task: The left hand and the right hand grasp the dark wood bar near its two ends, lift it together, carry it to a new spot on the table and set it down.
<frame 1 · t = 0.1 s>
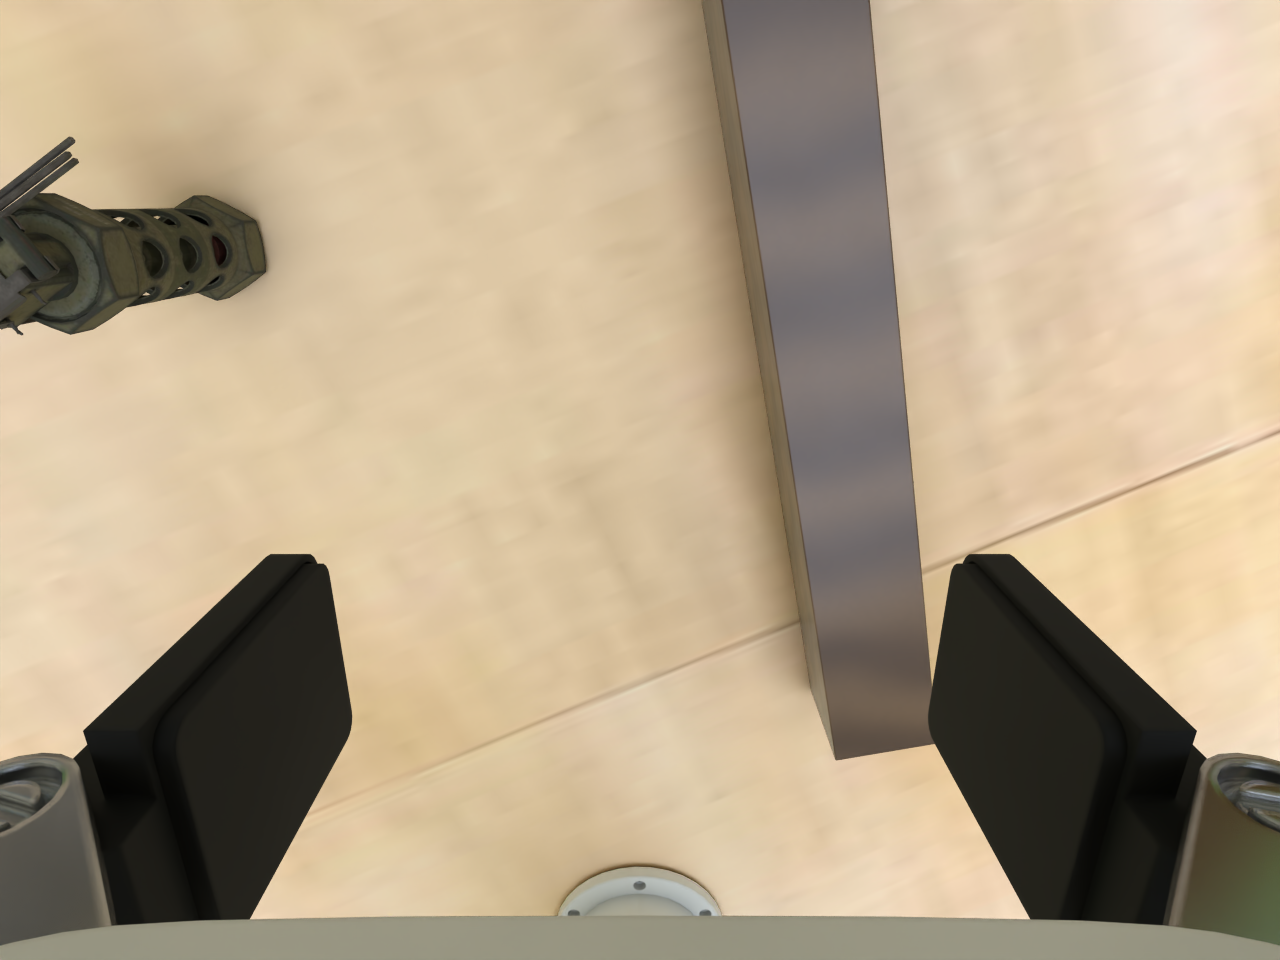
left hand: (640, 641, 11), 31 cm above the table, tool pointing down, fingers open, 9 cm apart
bar: (802, 286, 40), on the table
grenade: (199, 245, 39), on the table
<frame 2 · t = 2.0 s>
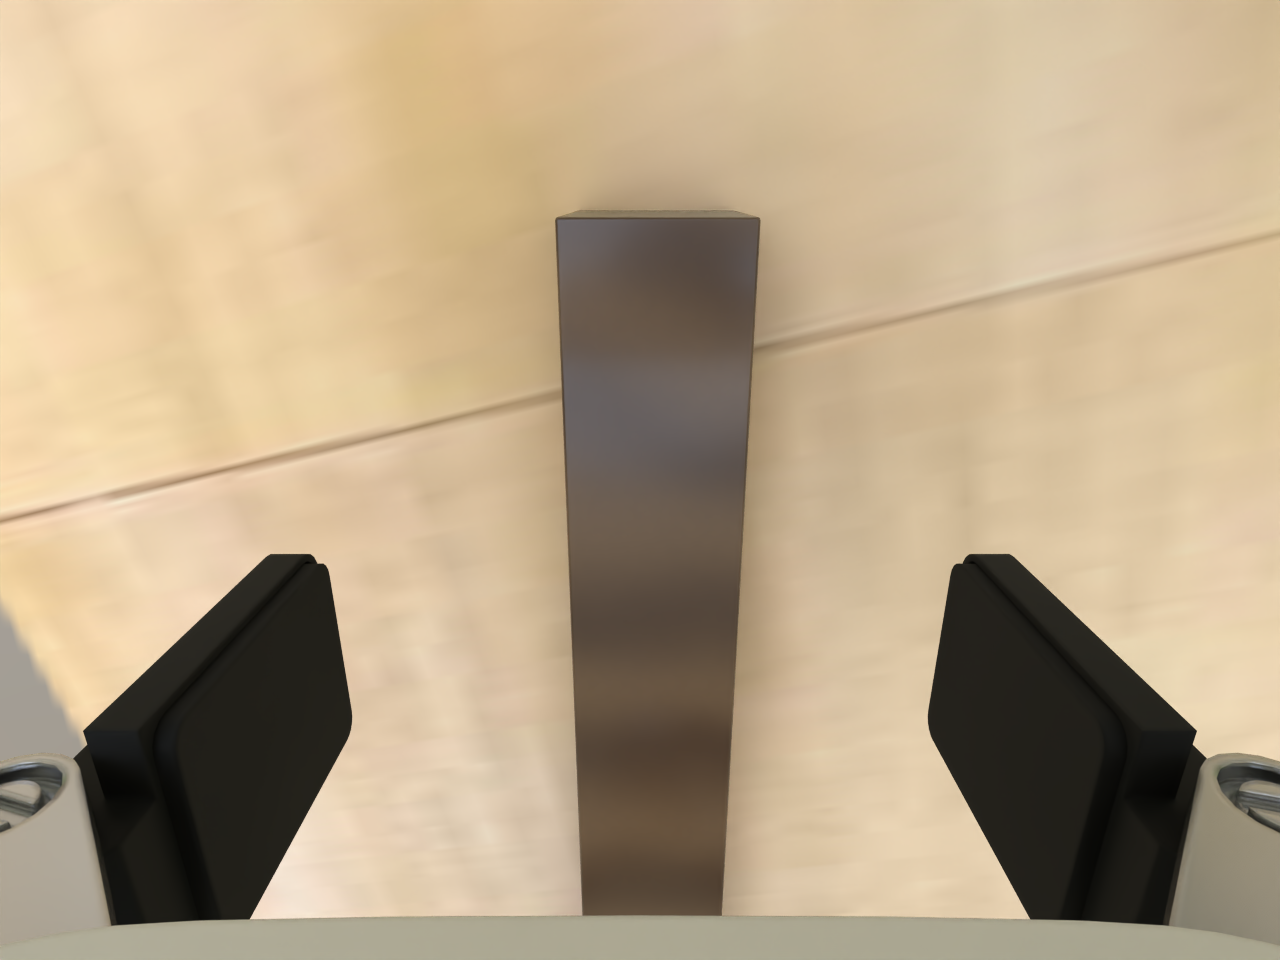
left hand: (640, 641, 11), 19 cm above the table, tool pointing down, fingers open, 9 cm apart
bar: (651, 769, 36), on the table
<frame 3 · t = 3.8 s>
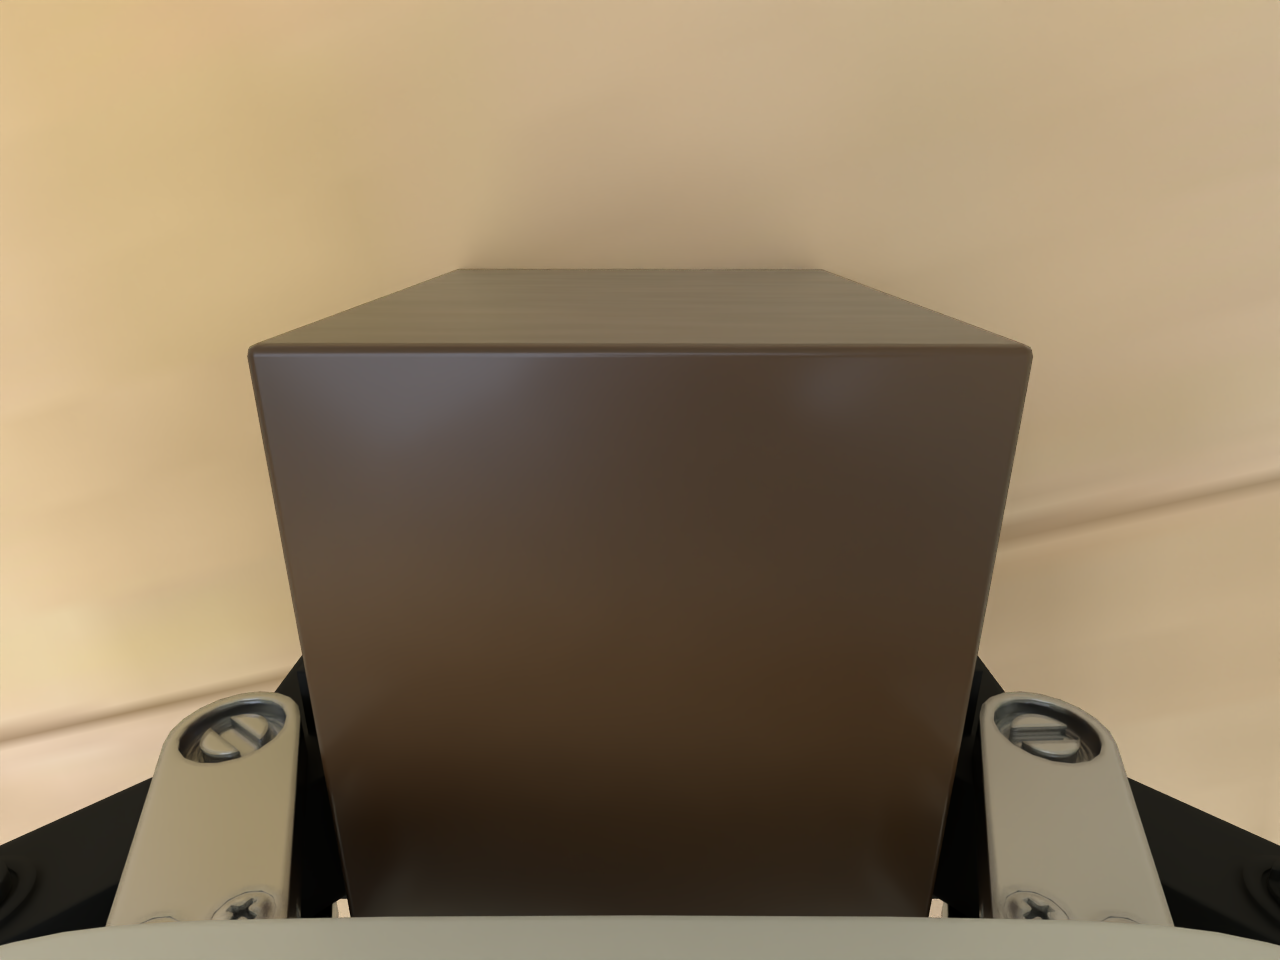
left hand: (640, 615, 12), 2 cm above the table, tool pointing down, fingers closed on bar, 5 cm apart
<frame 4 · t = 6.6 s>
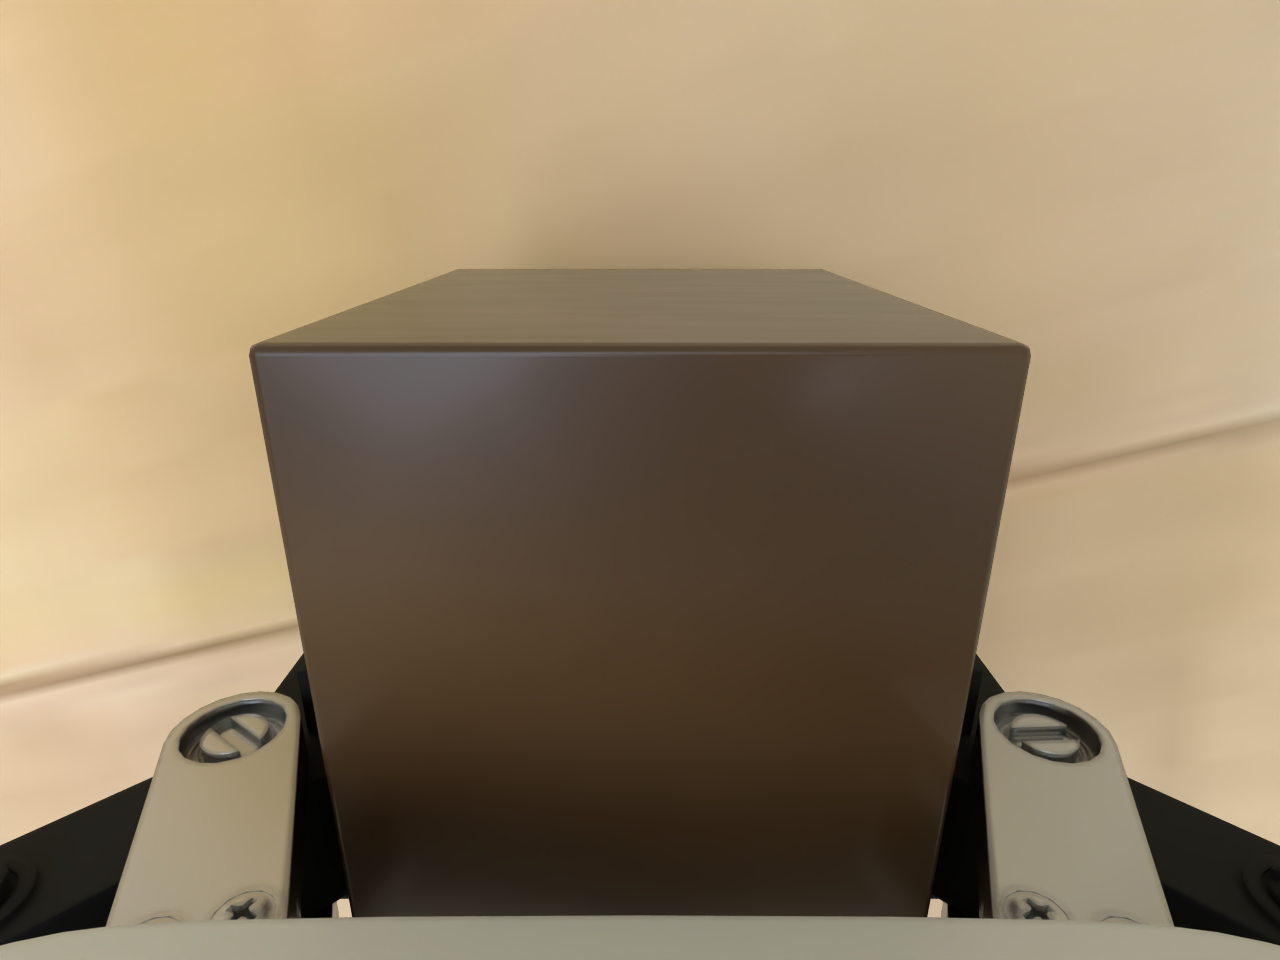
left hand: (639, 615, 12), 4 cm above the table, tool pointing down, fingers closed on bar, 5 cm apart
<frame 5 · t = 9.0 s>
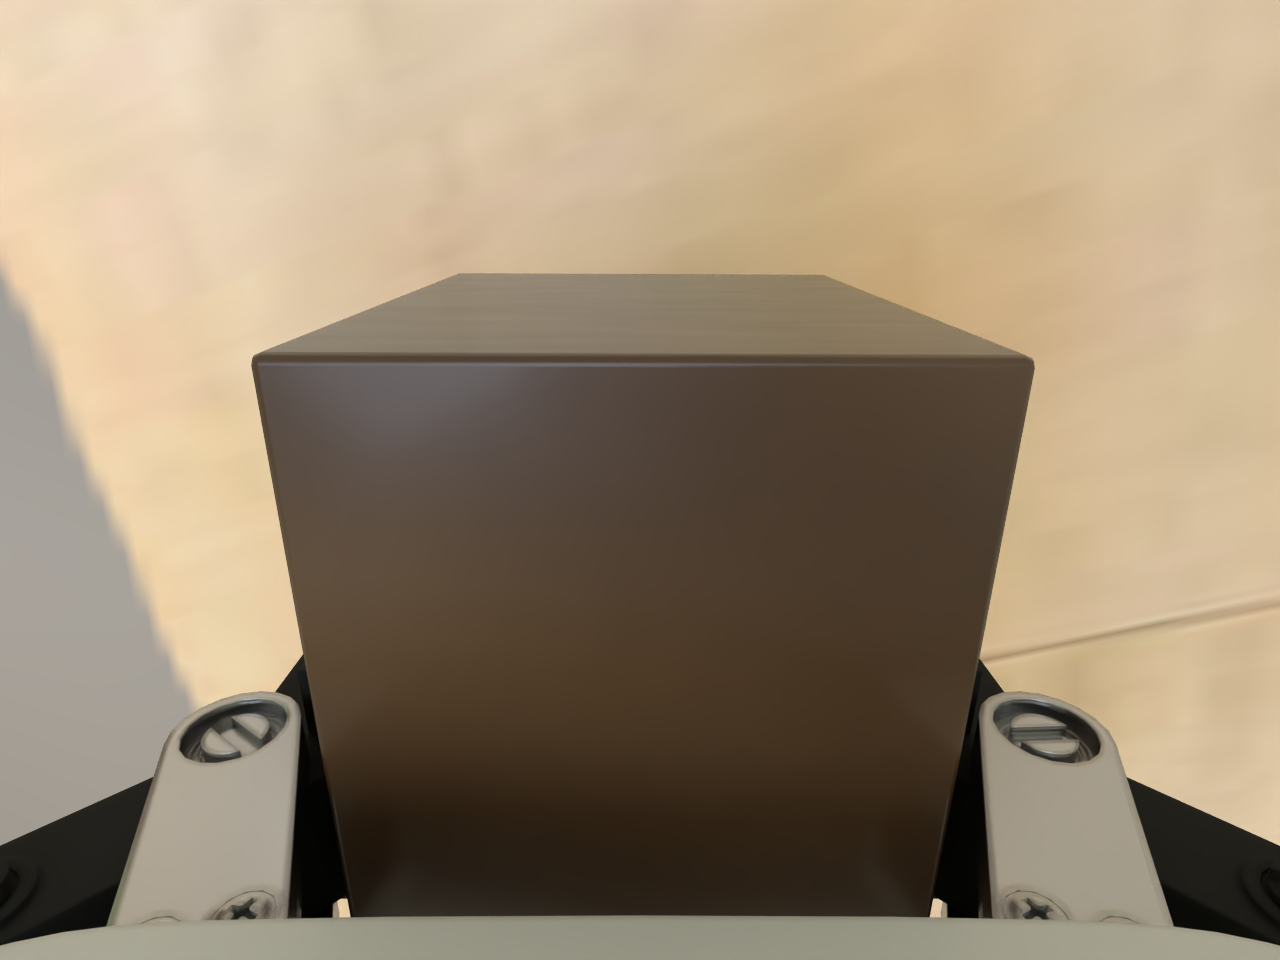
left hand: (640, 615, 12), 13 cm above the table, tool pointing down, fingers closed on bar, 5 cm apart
when the right hand's fingers open (2 cm above the table, at t = 11.3 s): bar drops 2 cm, on the table.
when the left hand's fingers open (3 cm above the table, at t = 11.4 s): bar stays where it is, on the table.
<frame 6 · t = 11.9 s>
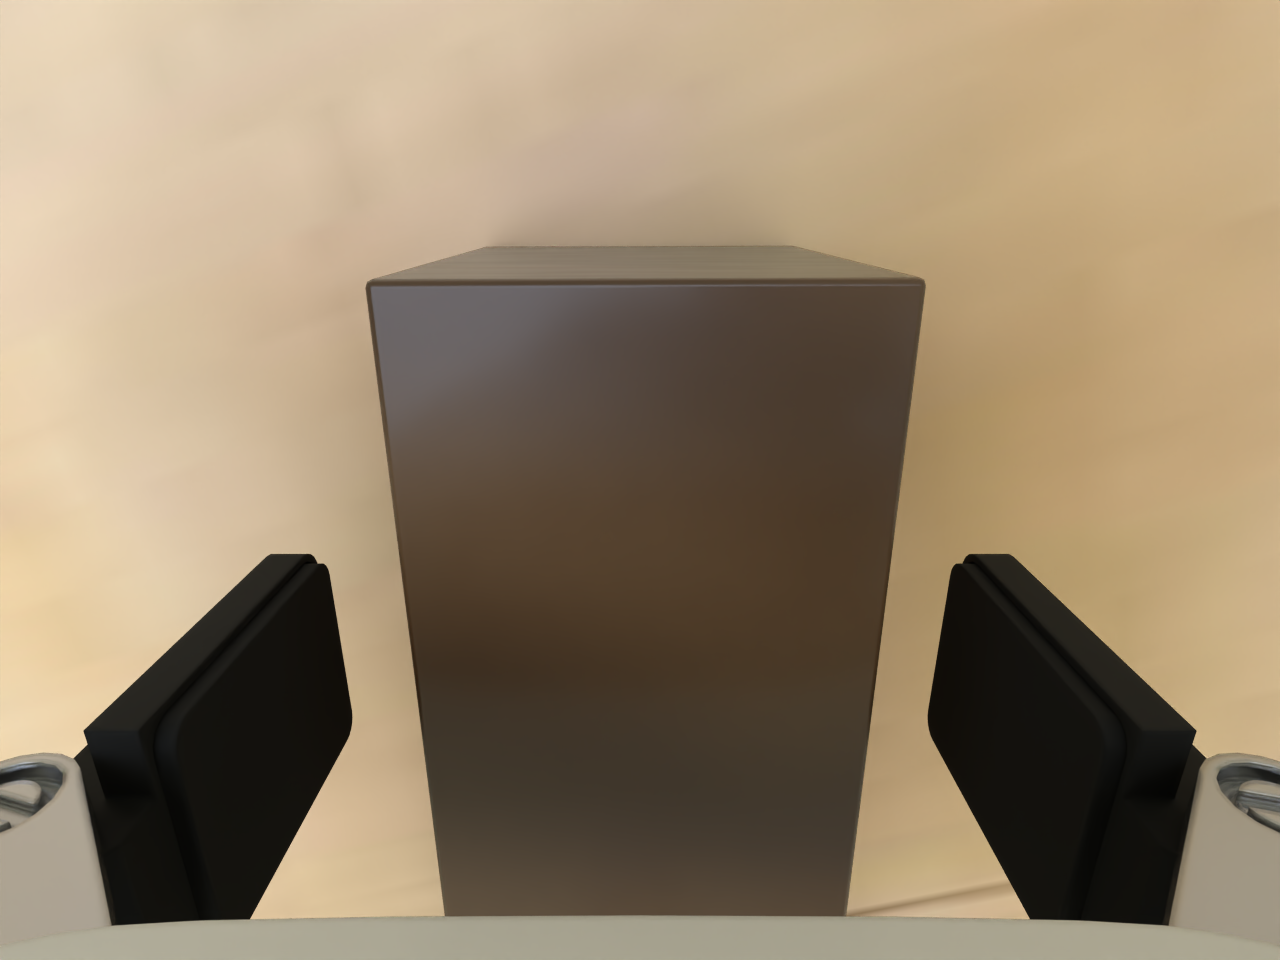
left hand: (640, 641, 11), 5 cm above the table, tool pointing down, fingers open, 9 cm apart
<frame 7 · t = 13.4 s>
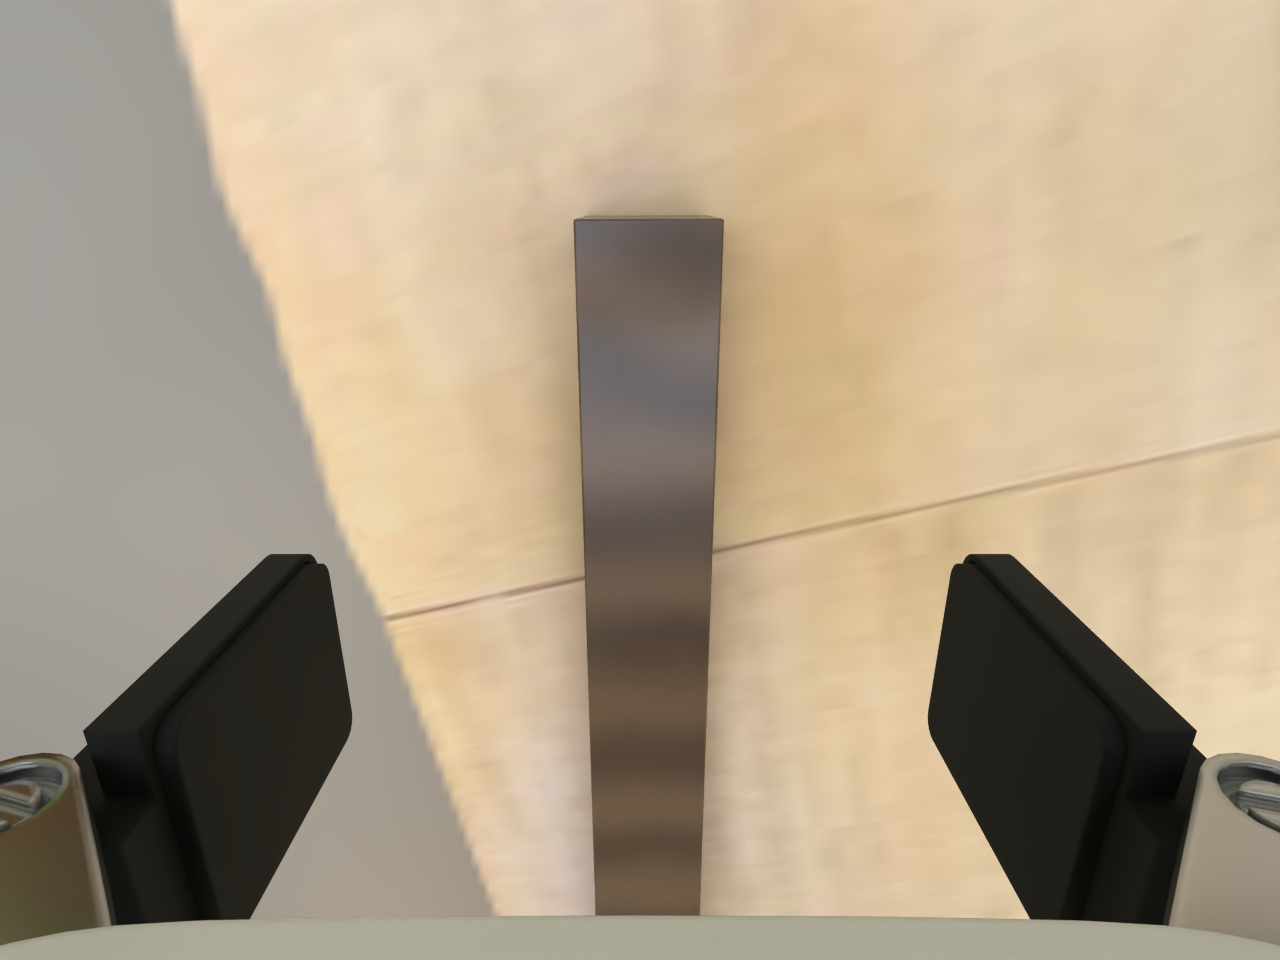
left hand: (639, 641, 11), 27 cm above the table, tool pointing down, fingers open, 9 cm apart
bar: (646, 679, 44), on the table
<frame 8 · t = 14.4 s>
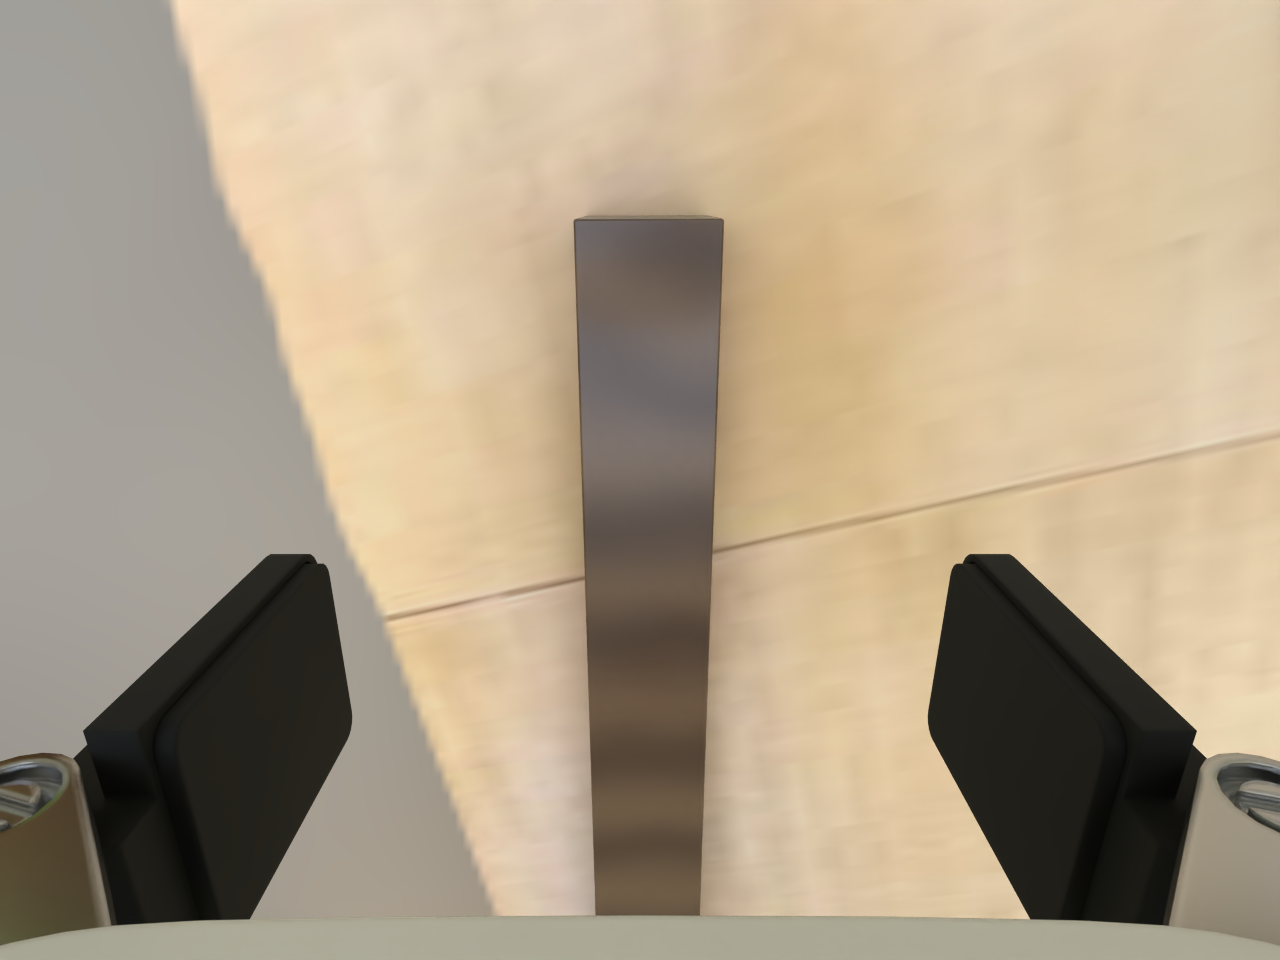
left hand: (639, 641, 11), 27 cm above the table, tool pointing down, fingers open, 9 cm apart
bar: (646, 679, 44), on the table
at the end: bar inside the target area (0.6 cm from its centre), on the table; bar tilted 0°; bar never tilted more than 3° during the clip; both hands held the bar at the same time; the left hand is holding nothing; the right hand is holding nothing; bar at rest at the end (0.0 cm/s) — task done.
